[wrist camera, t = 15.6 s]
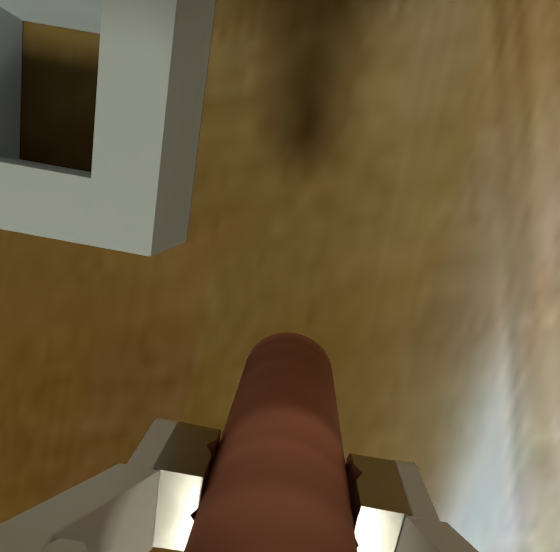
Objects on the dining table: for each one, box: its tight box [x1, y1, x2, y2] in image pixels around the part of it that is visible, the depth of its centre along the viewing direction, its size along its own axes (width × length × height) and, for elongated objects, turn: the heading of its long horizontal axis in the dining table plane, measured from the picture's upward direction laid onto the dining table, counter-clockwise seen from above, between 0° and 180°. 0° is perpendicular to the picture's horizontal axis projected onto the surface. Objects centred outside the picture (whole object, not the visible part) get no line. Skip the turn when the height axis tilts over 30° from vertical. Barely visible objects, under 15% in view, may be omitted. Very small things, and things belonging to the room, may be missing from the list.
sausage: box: [184, 333, 358, 552], centre depth 9 cm, size 3×3×9 cm
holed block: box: [0, 0, 216, 257], centre depth 17 cm, size 12×12×5 cm
